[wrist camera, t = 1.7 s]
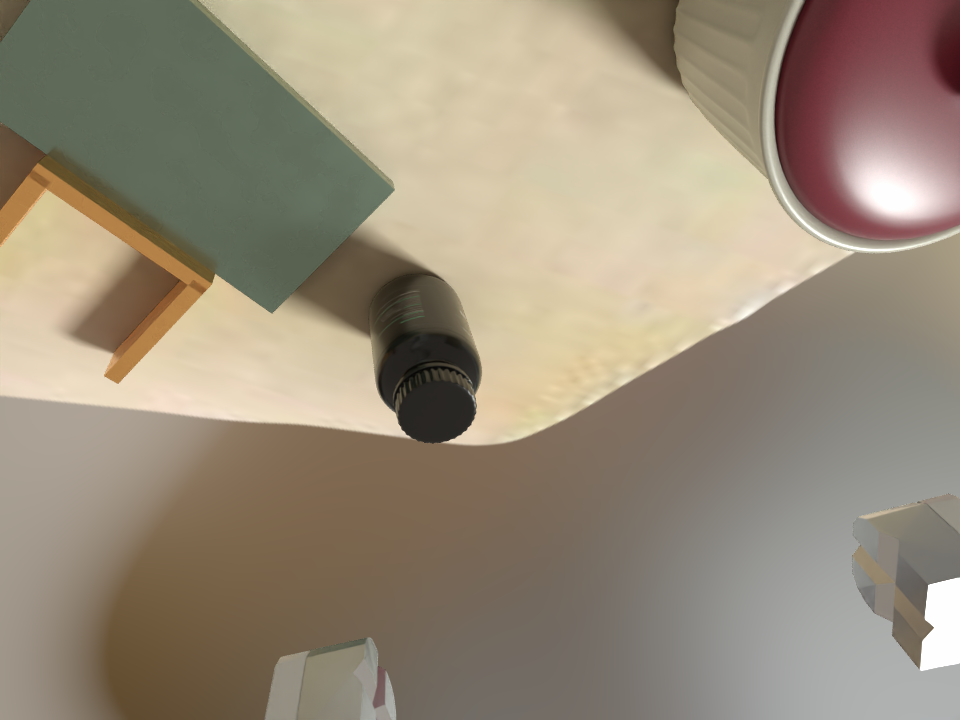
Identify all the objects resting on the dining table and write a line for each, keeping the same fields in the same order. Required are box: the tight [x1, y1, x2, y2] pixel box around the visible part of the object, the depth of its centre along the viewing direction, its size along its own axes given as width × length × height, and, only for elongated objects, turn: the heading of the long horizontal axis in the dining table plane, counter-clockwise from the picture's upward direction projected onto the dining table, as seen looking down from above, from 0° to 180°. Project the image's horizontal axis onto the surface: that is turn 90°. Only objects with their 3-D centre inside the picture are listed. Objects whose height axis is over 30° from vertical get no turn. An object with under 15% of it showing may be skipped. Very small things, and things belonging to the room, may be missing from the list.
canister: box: [673, 0, 960, 253], centre depth 35 cm, size 18×18×21 cm
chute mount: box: [0, 0, 395, 384], centre depth 41 cm, size 20×22×3 cm
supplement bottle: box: [369, 274, 482, 444], centre depth 46 cm, size 7×7×12 cm
